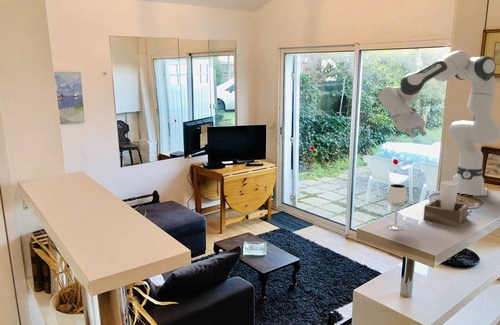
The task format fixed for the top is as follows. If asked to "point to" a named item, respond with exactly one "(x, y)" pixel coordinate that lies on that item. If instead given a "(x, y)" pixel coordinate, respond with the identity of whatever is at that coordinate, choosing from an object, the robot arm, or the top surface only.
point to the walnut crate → (445, 213)
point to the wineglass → (396, 201)
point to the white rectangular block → (448, 194)
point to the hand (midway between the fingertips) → (419, 136)
